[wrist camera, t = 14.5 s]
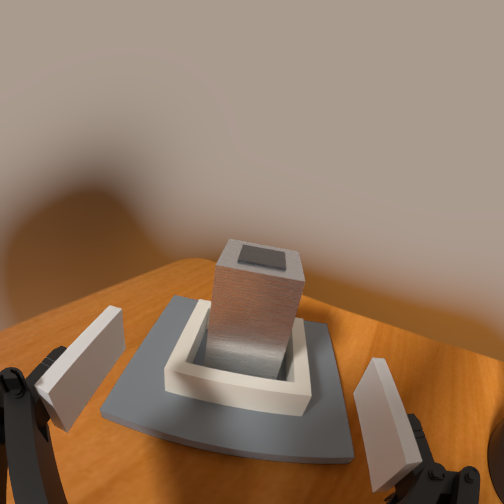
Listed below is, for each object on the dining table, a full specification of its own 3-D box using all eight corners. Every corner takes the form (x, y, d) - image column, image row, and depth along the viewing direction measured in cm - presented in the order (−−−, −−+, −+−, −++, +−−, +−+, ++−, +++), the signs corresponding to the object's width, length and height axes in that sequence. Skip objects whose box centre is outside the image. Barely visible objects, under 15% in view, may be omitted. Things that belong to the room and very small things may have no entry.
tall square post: (273, 349, 26) (299, 249, 23) (272, 391, 21) (305, 279, 17) (215, 338, 26) (229, 237, 23) (203, 378, 21) (216, 262, 17)
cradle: (324, 330, 32) (332, 305, 31) (349, 463, 15) (370, 438, 14) (174, 302, 33) (175, 275, 31) (102, 417, 16) (92, 387, 14)
